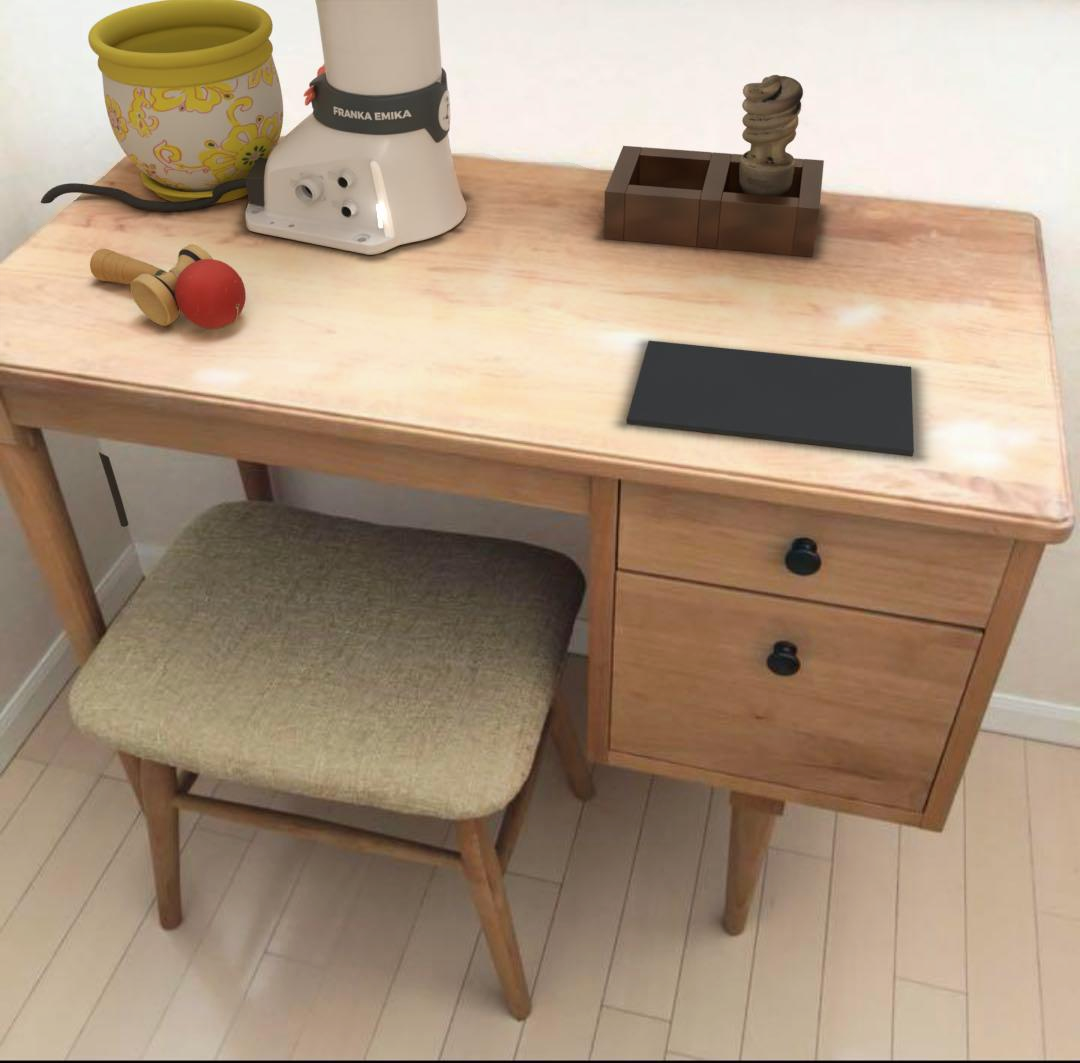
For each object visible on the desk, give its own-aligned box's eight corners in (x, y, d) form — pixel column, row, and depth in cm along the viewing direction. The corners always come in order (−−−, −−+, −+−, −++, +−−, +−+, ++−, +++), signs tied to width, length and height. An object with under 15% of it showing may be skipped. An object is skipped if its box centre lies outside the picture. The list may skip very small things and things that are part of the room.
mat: (626, 423, 96) (626, 418, 96) (648, 345, 105) (648, 340, 105) (912, 455, 93) (914, 450, 92) (910, 371, 101) (911, 366, 101)
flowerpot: (321, 156, 137) (301, 4, 126) (247, 226, 124) (218, 63, 113) (178, 140, 141) (147, -10, 130) (92, 206, 128) (50, 46, 117)
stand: (603, 239, 120) (604, 191, 117) (621, 191, 129) (623, 145, 126) (812, 257, 117) (819, 208, 114) (817, 206, 125) (823, 160, 122)
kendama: (73, 312, 113) (202, 344, 104) (59, 244, 110) (190, 271, 101) (141, 292, 119) (269, 321, 109) (129, 227, 116) (260, 251, 106)
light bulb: (728, 236, 121) (742, 85, 111) (731, 212, 125) (745, 64, 115) (786, 240, 120) (805, 88, 110) (787, 216, 124) (806, 67, 114)
